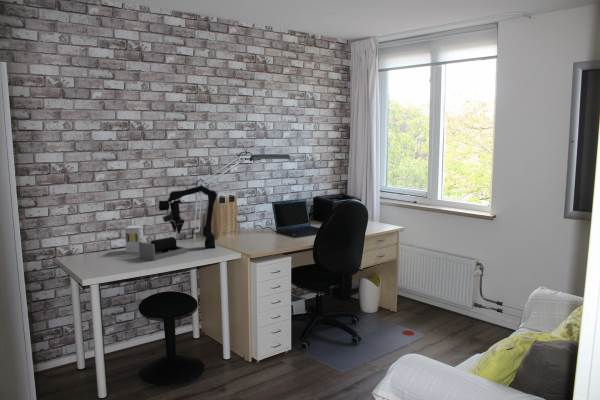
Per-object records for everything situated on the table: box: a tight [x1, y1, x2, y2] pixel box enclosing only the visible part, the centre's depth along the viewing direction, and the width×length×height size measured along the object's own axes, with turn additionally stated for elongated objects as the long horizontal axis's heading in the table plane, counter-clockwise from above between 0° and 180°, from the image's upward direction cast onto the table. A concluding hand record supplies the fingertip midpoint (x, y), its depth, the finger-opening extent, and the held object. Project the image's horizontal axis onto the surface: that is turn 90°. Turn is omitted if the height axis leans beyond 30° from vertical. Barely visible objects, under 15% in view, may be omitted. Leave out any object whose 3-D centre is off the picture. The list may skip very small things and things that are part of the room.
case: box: [139, 242, 188, 262], centre depth 319 cm, size 27×14×10 cm, turn 144°
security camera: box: [150, 236, 178, 254], centre depth 320 cm, size 7×18×10 cm, turn 136°
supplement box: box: [124, 225, 145, 254], centre depth 331 cm, size 10×9×17 cm
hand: (176, 232), depth 333 cm, fingers open, 9 cm apart
